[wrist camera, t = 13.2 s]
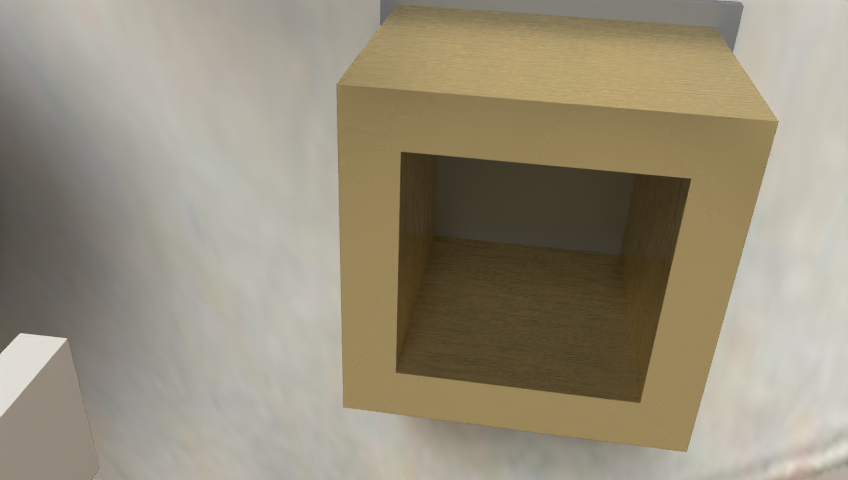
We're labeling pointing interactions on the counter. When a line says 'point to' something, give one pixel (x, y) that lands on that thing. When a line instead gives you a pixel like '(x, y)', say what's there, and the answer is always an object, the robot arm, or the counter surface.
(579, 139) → the collar
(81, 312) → the counter surface
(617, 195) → the mat
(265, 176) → the counter surface
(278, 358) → the counter surface
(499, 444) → the counter surface
